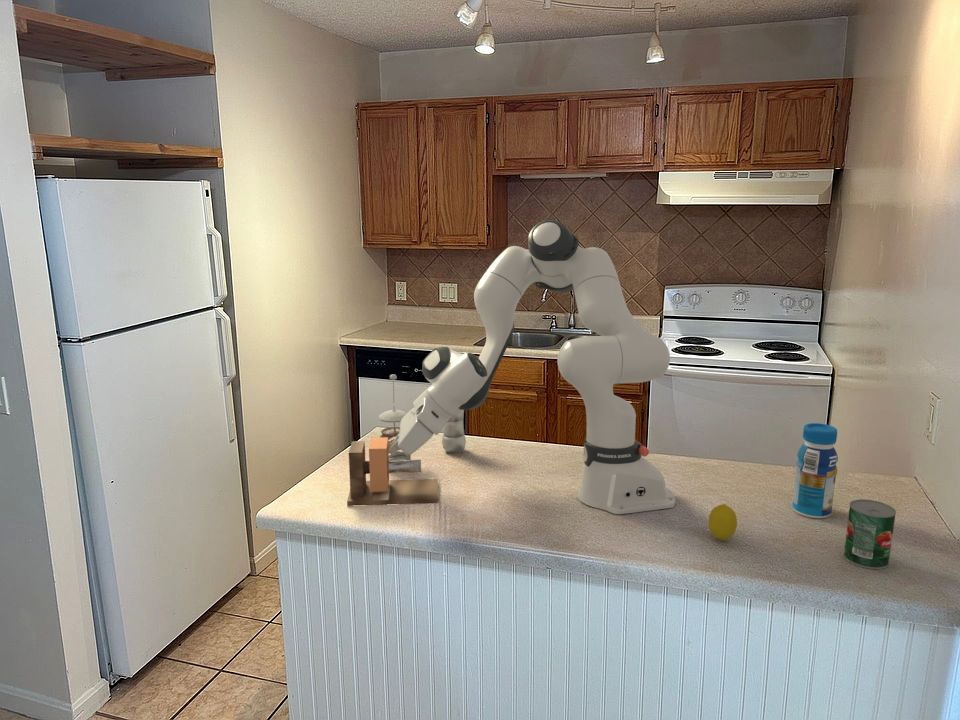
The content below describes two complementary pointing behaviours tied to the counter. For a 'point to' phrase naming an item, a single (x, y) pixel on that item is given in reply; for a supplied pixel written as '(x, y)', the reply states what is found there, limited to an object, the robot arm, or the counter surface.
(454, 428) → the plastic bottle
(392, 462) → the steel pipe
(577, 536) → the counter surface
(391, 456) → the french press
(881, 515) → the canned tomato
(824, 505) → the beverage bottle
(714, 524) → the lemon
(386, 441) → the collar
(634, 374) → the robot arm
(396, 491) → the pipe stand
